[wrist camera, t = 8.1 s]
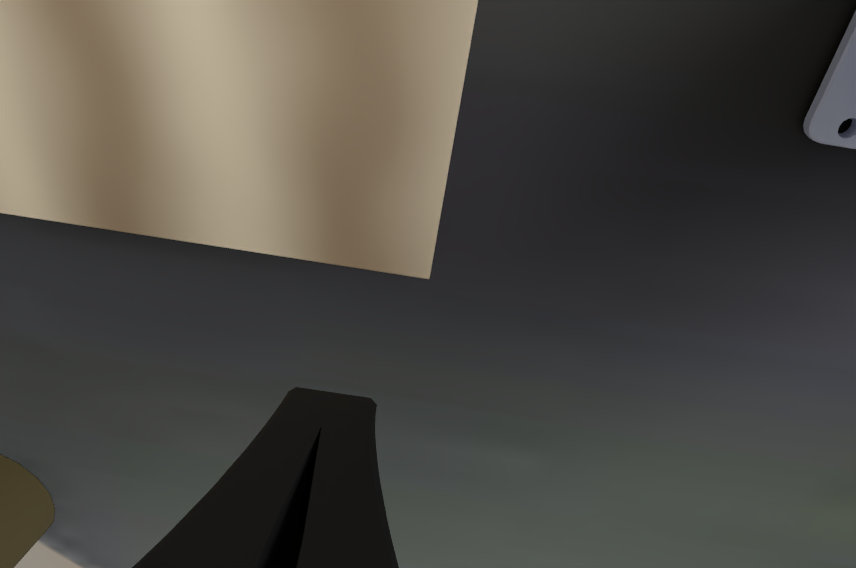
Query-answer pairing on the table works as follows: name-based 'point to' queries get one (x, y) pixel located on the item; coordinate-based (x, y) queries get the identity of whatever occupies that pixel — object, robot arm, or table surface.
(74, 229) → the table surface
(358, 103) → the cracker board
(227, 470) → the robot arm
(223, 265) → the table surface
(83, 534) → the table surface
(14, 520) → the pepper mill
